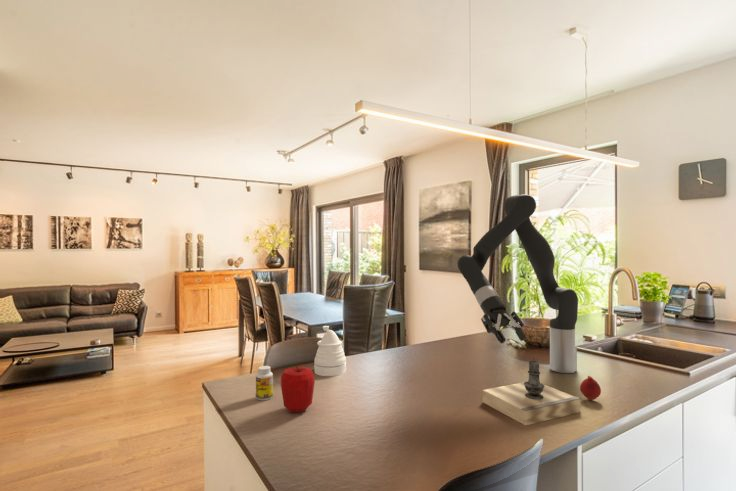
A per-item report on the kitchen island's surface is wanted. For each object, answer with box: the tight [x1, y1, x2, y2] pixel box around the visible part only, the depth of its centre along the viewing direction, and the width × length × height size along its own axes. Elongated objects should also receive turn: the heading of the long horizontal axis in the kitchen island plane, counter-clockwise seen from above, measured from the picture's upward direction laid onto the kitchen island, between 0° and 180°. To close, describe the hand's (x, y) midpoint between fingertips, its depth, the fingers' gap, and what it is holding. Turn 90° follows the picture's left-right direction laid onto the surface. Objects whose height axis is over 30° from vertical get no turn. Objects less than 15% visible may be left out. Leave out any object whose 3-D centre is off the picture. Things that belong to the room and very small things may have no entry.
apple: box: [280, 366, 315, 413], centre depth 123 cm, size 10×10×14 cm
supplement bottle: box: [255, 365, 274, 401], centre depth 132 cm, size 6×6×10 cm
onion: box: [579, 375, 602, 402], centre depth 129 cm, size 6×6×8 cm
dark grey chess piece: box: [524, 357, 545, 400], centre depth 122 cm, size 6×6×12 cm
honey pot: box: [313, 325, 347, 377], centre depth 160 cm, size 13×13×18 cm
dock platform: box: [482, 381, 581, 426], centre depth 124 cm, size 22×18×4 cm
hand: (513, 340), depth 130 cm, fingers open, 8 cm apart
